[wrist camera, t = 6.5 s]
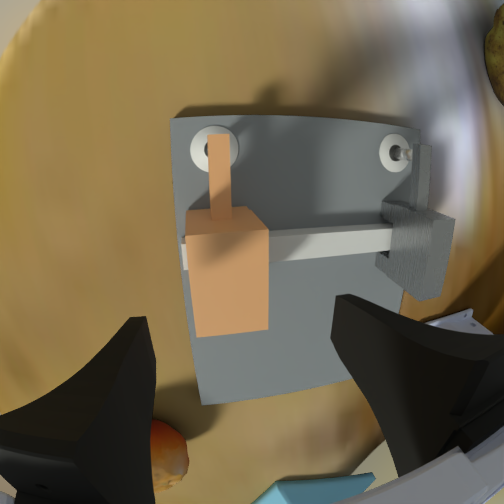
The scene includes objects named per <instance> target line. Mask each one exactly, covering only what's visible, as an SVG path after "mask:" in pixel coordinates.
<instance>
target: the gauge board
mask: <svg viewBox="0 0 504 504" xmlns="http://www.w3.org/2000/svg"><path fill="white" fill-rule="evenodd" d="M170 132H171V156H172V174H173V190H174V203H175V216H176V227H177V238H178V248H179V257H180V266H181V275H182V283H183V291H184V299H185V307H186V314H187V321H188V328H189V335H190V341H191V347H192V354H193V360H194V365H195V371H196V377H197V383H198V388H199V393H200V399H201V404H202V405H210V404H220V403H228V402H236V401H243V400H250V399H257V398H263V397H269V396H275V395H280V394H286V393H291V392H296V391H301V390H306V389H311V388H315V387H320V386H324V385H328V384H332V383H336V382H340V381H344V380H348V379H352V376H351V375H350V373H349V372H348V370H347V369H346V367H345V366H344V364H343V363H342V361H341V360H340V358H339V356H338V354H337V352H336V350H335V348H334V345H333V343H332V341H331V339H330V336H331V329H332V321H333V313H334V305H335V297H336V295H343V294H352V295H355V296H358V297H361V298H363V299H365V300H368V301H370V302H372V303H374V304H377V305H379V306H381V307H383V308H386V309H388V310H390V311H393V312H395V313H397V314H398V313H399V309H400V304H401V300H402V295H403V290H404V289H403V288H401V287H400V286H399V285H397V284H396V283H395V282H393V281H392V280H391V279H389V278H388V277H387V276H386V274H385V273H383V272H382V271H381V270H379V269H378V268H377V267H375V261H376V254H377V252H378V251H388V250H390V244H391V236H392V228H393V223H392V222H390V221H387V220H385V219H383V218H381V217H380V216H381V204H382V201H405V202H408V203H409V200H410V188H411V172H412V161H407V160H401V159H396V158H395V156H394V150H395V149H396V148H404V149H413V143H414V144H420V130H419V129H413V128H407V127H401V126H395V125H388V124H381V123H373V122H365V121H356V120H346V119H335V118H322V117H306V116H283V115H224V116H200V117H184V118H172V119H170ZM210 134H229V139H230V175H231V205H232V207H240V206H247V207H248V209H249V210H252V211H253V212H254V214H255V215H256V216H257V217H258V218H259V219H260V220H261V221H262V222H263V224H264V225H265V226H266V227H267V228H268V229H269V309H268V330H260V331H252V332H244V333H236V334H227V335H218V336H208V337H198V338H197V336H196V329H195V322H194V314H193V306H192V298H191V289H190V280H189V271H188V262H187V251H186V241H185V224H186V210H198V209H210V192H209V170H208V151H207V148H208V142H207V135H210Z"/></svg>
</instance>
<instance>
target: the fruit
mask: <svg viewBox="0 0 504 504" xmlns="http://www.w3.org/2000/svg"><path fill="white" fill-rule="evenodd" d="M150 444H151V465H152V478H153V488H154V493H159V492H161V491H164V490H167V489H169V488H171V487H172V486H173V485H175V484H177V483H178V482H180V481H181V480H182V478H183V477H184V475H185V474H186V473H187V471H188V466H189V457H188V453H187V444H186V441H185V439H184V438H183V437H182V435H181V434H180V433H179V432H177V431H176V430H174V429H173V428H172V427H170V426H169V425H168V424H166V423H164V422H162V421H159V420H156V419H152V423H151V437H150Z"/></svg>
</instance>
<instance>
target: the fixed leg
mask: <svg viewBox="0 0 504 504" xmlns="http://www.w3.org/2000/svg"><path fill="white" fill-rule="evenodd" d="M431 148H432V146H429V145H423V144H414V143H413V149H404V148H396V149H395V150H394V156H395V158H396V159H401V160H407V161H412V172H411V188H410V200H409V203H408V202H405V201H382V204H381V216H380V217H381V218H383V219H385V220H387V221H390V222H392V223H393V228H392V236H391V244H390V250H388V251H378V252H377V254H376V261H375V267H377V268H378V269H379V270H381V271H382V272H383V273H385V274H386V276H387V277H388V278H389V279H391V280H392V281H393V282H395V283H396V284H397V285H399V286H400V287H401V288H403V289H404V290H405V291H406V292H408V293H409V294H410V295H412V296H413V297H414V298H415V299H417V300H418V301H423V300H427V299H431V298H435V297H439V296H440V295H441V291H442V287H443V283H444V278H445V274H446V269H447V264H448V259H449V254H450V249H451V243H452V237H453V231H454V225H455V219H454V218H451V217H449V216H446V215H444V214H441V213H438V212H436V211H433V210H431V209H428V208H427V206H428V196H429V185H430V170H431Z"/></svg>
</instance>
